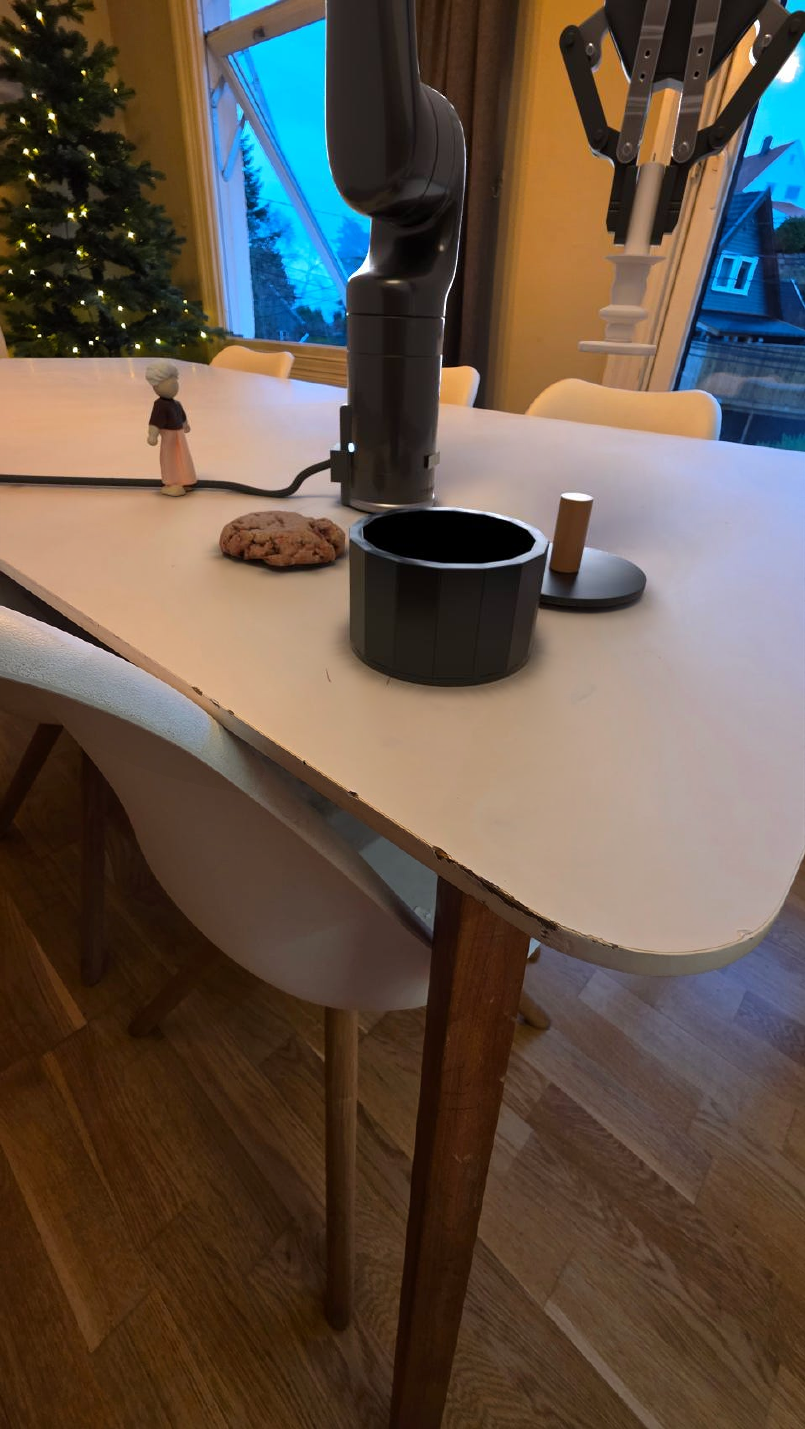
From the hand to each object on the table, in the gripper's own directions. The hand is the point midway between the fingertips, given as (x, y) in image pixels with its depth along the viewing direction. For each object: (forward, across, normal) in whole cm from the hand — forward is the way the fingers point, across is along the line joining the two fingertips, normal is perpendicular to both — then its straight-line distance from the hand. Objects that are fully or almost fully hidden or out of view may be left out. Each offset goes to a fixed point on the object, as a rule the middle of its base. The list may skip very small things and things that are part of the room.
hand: (636, 243), depth 40 cm
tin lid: (+21, +1, +2) cm, 22 cm away
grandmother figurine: (+22, +44, -9) cm, 50 cm away
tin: (+22, +7, +16) cm, 28 cm away
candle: (+6, 0, 0) cm, 6 cm away
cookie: (+22, +24, +5) cm, 33 cm away
